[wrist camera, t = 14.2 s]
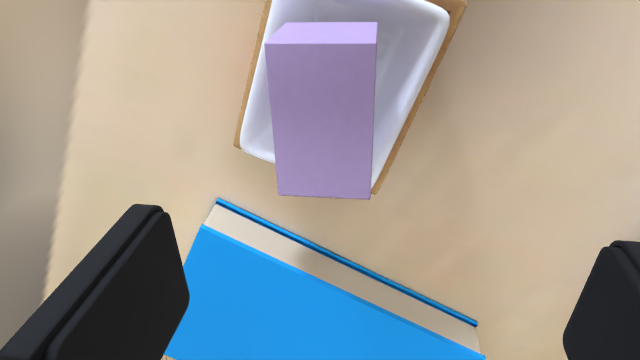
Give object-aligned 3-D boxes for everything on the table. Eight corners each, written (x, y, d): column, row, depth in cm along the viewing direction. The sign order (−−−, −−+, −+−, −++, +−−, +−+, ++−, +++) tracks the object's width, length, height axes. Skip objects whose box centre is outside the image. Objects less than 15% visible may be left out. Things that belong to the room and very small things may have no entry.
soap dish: (295, -70, 23) (275, -70, 19) (459, -9, 24) (476, 5, 19) (248, 124, 30) (224, 157, 25) (376, 169, 30) (375, 209, 26)
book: (196, 226, 30) (489, 363, 33) (218, 194, 34) (479, 319, 36) (145, 352, 39) (379, 451, 42) (166, 316, 42) (380, 409, 45)
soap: (285, 22, 21) (263, 42, 17) (377, 21, 20) (376, 42, 17) (294, 155, 25) (278, 195, 21) (372, 158, 24) (370, 200, 20)
